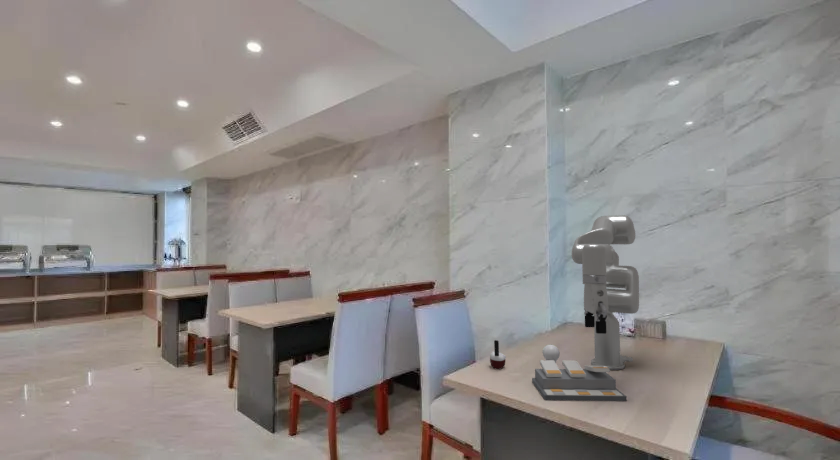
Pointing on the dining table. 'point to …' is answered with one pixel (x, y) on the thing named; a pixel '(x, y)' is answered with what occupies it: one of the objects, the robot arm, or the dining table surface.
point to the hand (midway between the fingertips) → (595, 330)
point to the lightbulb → (551, 352)
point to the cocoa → (497, 357)
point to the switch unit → (578, 387)
